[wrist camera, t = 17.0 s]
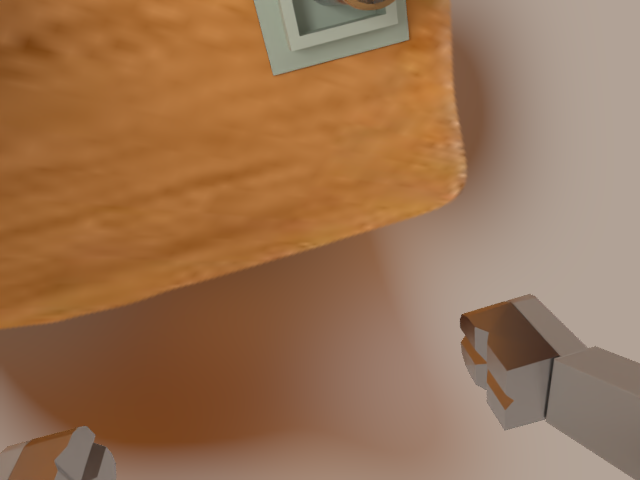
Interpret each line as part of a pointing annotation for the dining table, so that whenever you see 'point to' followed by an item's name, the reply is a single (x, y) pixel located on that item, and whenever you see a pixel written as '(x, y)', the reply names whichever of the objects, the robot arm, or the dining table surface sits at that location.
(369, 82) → the dining table surface
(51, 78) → the dining table surface
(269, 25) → the green square tray
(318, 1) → the pin
